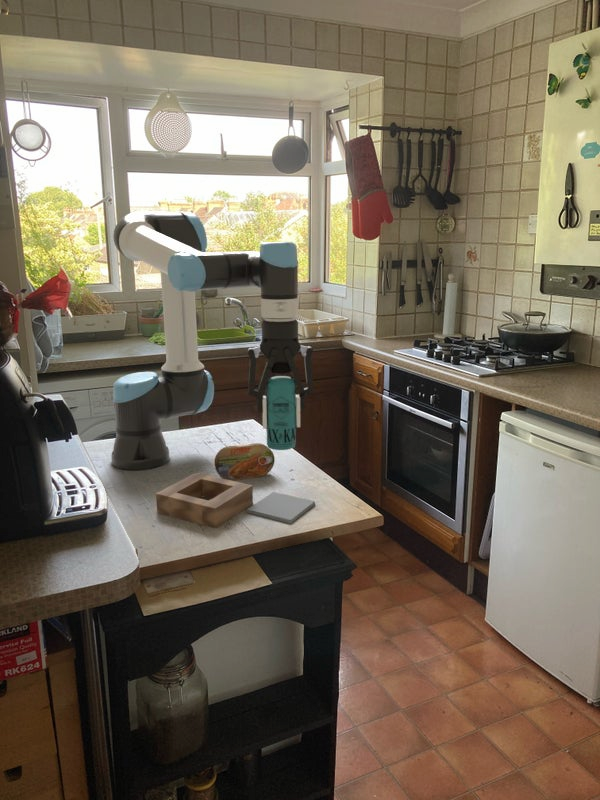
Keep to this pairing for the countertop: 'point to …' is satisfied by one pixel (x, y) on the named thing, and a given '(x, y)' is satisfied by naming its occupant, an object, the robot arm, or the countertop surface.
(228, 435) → the countertop surface
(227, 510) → the walnut bottle holder
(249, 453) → the tin
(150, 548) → the countertop surface
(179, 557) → the countertop surface
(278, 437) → the beverage bottle
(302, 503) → the slate mat
